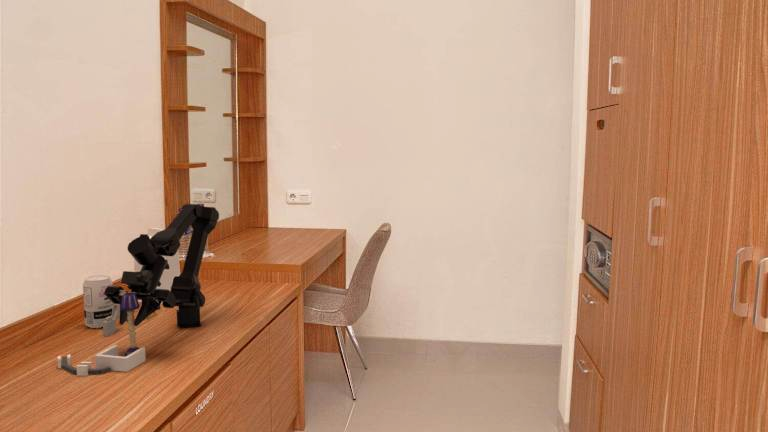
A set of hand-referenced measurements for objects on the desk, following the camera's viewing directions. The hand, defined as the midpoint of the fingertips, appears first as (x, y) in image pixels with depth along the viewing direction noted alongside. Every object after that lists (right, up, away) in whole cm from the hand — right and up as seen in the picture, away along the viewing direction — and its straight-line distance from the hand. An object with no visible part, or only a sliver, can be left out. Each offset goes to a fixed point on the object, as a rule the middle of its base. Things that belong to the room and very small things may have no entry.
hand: (127, 324), depth 158 cm
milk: (-14, -2, +59) cm, 61 cm away
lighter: (-14, -7, +23) cm, 28 cm away
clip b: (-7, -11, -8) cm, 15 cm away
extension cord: (-14, -5, +42) cm, 44 cm away
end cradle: (-1, -10, -2) cm, 10 cm away
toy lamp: (0, -9, +2) cm, 9 cm away
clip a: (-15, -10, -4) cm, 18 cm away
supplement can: (-21, -6, +30) cm, 37 cm away
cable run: (-9, -10, -4) cm, 14 cm away
